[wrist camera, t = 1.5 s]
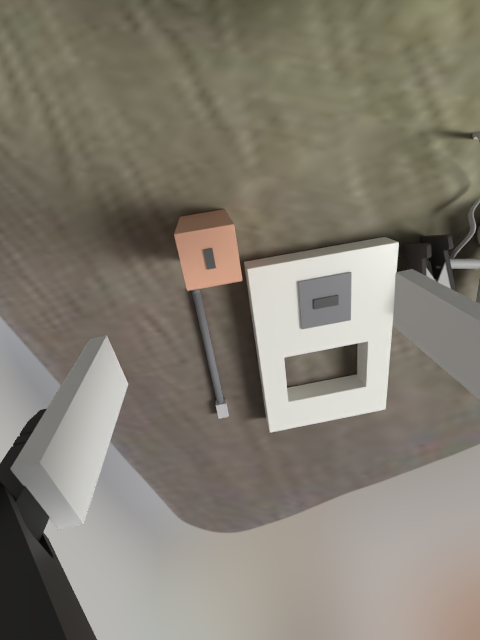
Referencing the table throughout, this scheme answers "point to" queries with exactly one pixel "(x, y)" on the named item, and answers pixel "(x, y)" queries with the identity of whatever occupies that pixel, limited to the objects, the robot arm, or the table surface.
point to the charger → (208, 249)
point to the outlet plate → (324, 327)
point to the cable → (210, 355)
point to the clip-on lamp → (442, 253)
